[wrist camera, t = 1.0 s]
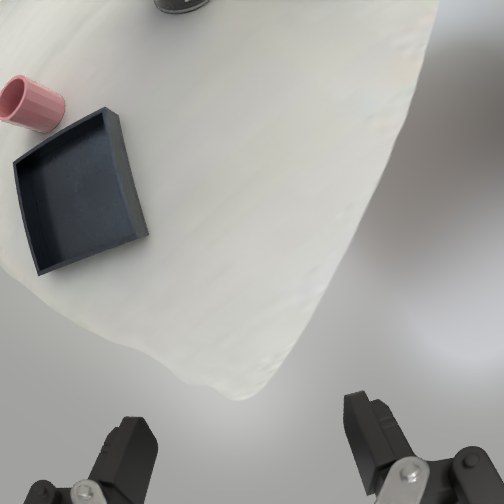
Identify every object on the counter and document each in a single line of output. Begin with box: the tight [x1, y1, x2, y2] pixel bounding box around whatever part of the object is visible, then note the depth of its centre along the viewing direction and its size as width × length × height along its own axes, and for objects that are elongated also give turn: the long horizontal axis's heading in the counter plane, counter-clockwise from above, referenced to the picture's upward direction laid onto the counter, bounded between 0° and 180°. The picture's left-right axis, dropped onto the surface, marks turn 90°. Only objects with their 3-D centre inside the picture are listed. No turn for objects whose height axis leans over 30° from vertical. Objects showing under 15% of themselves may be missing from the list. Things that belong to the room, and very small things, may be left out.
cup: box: [0, 75, 65, 133], centre depth 27 cm, size 6×6×10 cm
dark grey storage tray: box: [13, 107, 149, 276], centre depth 32 cm, size 17×17×4 cm
